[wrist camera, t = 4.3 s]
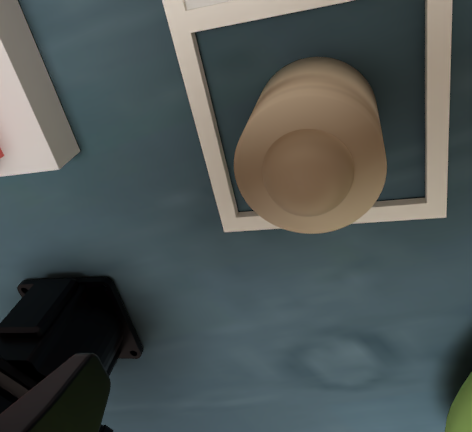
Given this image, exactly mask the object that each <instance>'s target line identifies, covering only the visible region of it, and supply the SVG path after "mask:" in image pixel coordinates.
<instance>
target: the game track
mask: <svg viewBox="0 0 472 432" xmlns="http://www.w3.org/2000/svg"><path fill="white" fill-rule="evenodd" d="M349 1H354V0H162V2H163V6H164V9H165V13H166V17H167V21H168V24H169V28H170V32H171V35H172V39H173V43H174V47H175V50H176V54H177V58H178V62H179V65H180V69H181V73H182V76H183V80H184V84H185V88H186V91H187V95H188V99H189V103H190V106H191V110H192V114H193V117H194V121H195V125H196V129H197V132H198V136H199V140H200V144H201V147H202V151H203V155H204V158H205V162H206V166H207V170H208V173H209V177H210V181H211V185H212V188H213V192H214V196H215V199H216V203H217V207H218V211H219V214H220V218H221V222H222V225H223V229H224V232H237V231H252V230H267V229H282V228H279V227H277V226H275V225H273V224H271V223H269V222H268V221H266V220H264V219H263V218H262V217H260V216H259V215H258V214H257V213H256V212H255V211H248V212H238V209H237V205H236V201H235V196H234V192H233V188H232V184H231V180H230V176H229V172H228V168H227V164H226V159H225V155H224V151H223V147H222V143H221V139H220V135H219V131H218V127H217V122H216V118H215V114H214V110H213V106H212V102H211V98H210V94H209V90H208V85H207V81H206V77H205V73H204V69H203V65H202V61H201V57H200V53H199V48H198V44H197V40H196V36H195V32H198V31H203V30H208V29H213V28H218V27H223V26H228V25H233V24H238V23H243V22H248V21H253V20H258V19H263V18H268V17H273V16H279V15H284V14H289V13H294V12H299V11H304V10H309V9H314V8H319V7H324V6H329V5H334V4H339V3H344V2H349ZM451 35H452V0H425V198H413V199H400V200H387V201H376V202H375V203H374V205H373V206H372V207H371V208H370V209H369V210H368V212H367V213H365V214H364V215H363V216H362V217H361V218H359V219H358V220H356V221H355V222H353V223H352V224H356V223H371V222H386V221H401V220H416V219H431V218H446V212H447V177H448V141H449V106H450V70H451Z"/></svg>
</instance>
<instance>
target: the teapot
mask: <svg viewBox="0 0 472 432" xmlns="http://www.w3.org/2000/svg"><path fill="white" fill-rule="evenodd" d="M445 432H472V372H471V373H470V375H469V376H468V377H467V379H466V380H465V382H464V383H463V385H462V387H461V388H460V390H459V392H458V394H457V395H456V397H455V399H454V401H453V403H452V405H451V407H450V410H449V413H448V416H447V421H446V428H445Z"/></svg>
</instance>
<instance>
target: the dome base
mask: <svg viewBox="0 0 472 432" xmlns="http://www.w3.org/2000/svg"><path fill="white" fill-rule="evenodd" d="M79 152H80V149H79V147H78V144H77V142H76V140H75V137H74V135H73V132H72V130H71V128H70V125H69V123H68V120H67V118H66V115H65V113H64V111H63V108H62V106H61V103H60V101H59V99H58V96H57V94H56V91H55V89H54V87H53V84H52V82H51V79H50V77H49V75H48V72H47V70H46V67H45V65H44V63H43V60H42V58H41V55H40V53H39V51H38V48H37V46H36V43H35V41H34V39H33V36H32V34H31V31H30V29H29V27H28V24H27V22H26V19H25V17H24V15H23V12H22V10H21V7H20V5H19V2H18V0H0V177H1V176H10V175H18V174H27V173H35V172H43V171H52V170H59V169H61V168H62V167H63V166H64V165H65V164H66V163H67V162H69V161H70V160H71V159H72V158H73V157H74V156H75V155H77V154H78V153H79Z"/></svg>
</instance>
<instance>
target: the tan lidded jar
mask: <svg viewBox="0 0 472 432" xmlns="http://www.w3.org/2000/svg"><path fill="white" fill-rule="evenodd" d="M234 173H235V179H236V182H237V186H238V188H239V190H240V193H241V195H242V196H243V198H244V199H245V201H246V202H247V204H248V205H249V206H250V207H251V209H252V210H254V211H255V212H256V213H257V214H258V215H259V216H260V217H262V218H263V219H264V220H266V221H268V222H269V223H271V224H273V225H275V226H277V227H279V228H282V229H285V230H288V231H292V232H297V233H306V234H317V233H326V232H330V231H335V230H338V229H340V228H343V227H345V226H347V225H350V224H352V223H353V222H355V221H356V220H358V219H359V218H361V217H362V216H363V215H364V214H365V213H367V212H368V210H369V209H370V208H371V207H372V206H373V205H374V203H375V202H376V201H377V199H378V197H379V195H380V193H381V192H382V189H383V186H384V183H385V179H386V174H387V160H386V153H385V147H384V142H383V136H382V131H381V125H380V119H379V114H378V108H377V103H376V99H375V95H374V93H373V90H372V88H371V86H370V85H369V83H368V81H367V80H366V79H365V78H364V77H363V75H362V74H361V73H360V72H358V71H357V70H356V69H355V68H353V67H352V66H350V65H349V64H347V63H345V62H342V61H340V60H337V59H333V58H328V57H308V58H304V59H300V60H297V61H294V62H292V63H290V64H288V65H286V66H284V67H283V68H282V69H280V70H279V71H278V72H277V73H276V74H274V75H273V76H272V78H271V79H270V80H269V81H268V82H267V84H266V86H265V87H264V89H263V91H262V93H261V95H260V97H259V99H258V101H257V103H256V106H255V108H254V110H253V112H252V114H251V116H250V118H249V120H248V122H247V124H246V126H245V129H244V131H243V133H242V135H241V137H240V139H239V142H238V144H237V147H236V151H235V156H234Z"/></svg>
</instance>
